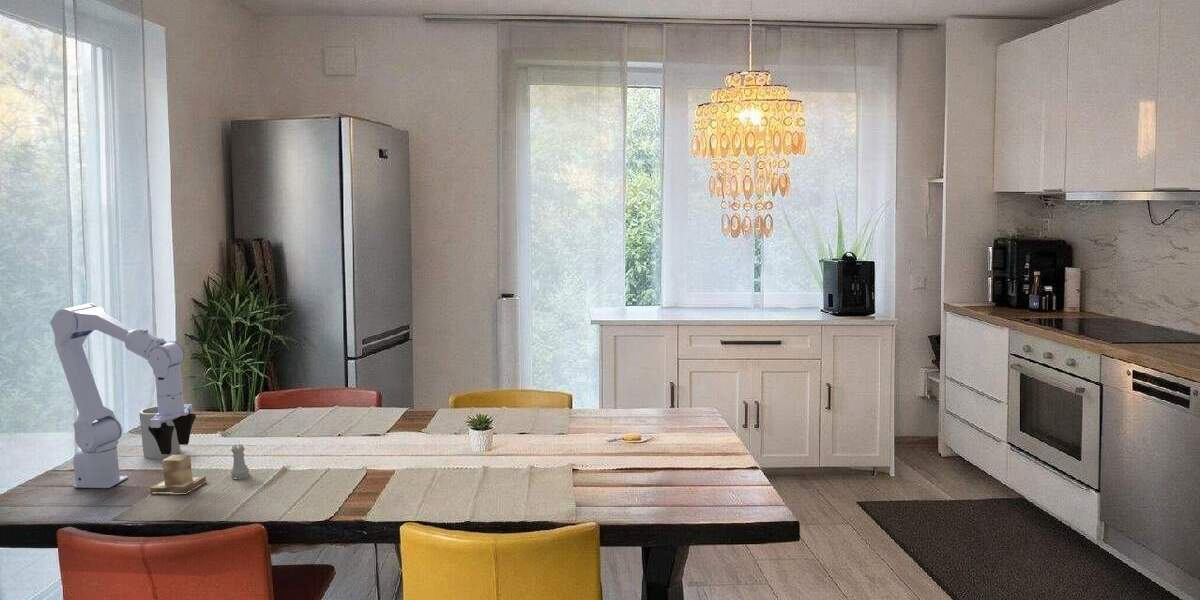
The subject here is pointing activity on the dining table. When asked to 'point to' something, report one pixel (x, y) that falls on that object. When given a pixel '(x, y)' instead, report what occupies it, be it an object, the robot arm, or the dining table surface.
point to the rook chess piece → (239, 462)
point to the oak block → (177, 469)
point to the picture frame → (179, 488)
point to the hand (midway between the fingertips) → (175, 449)
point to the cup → (148, 439)
